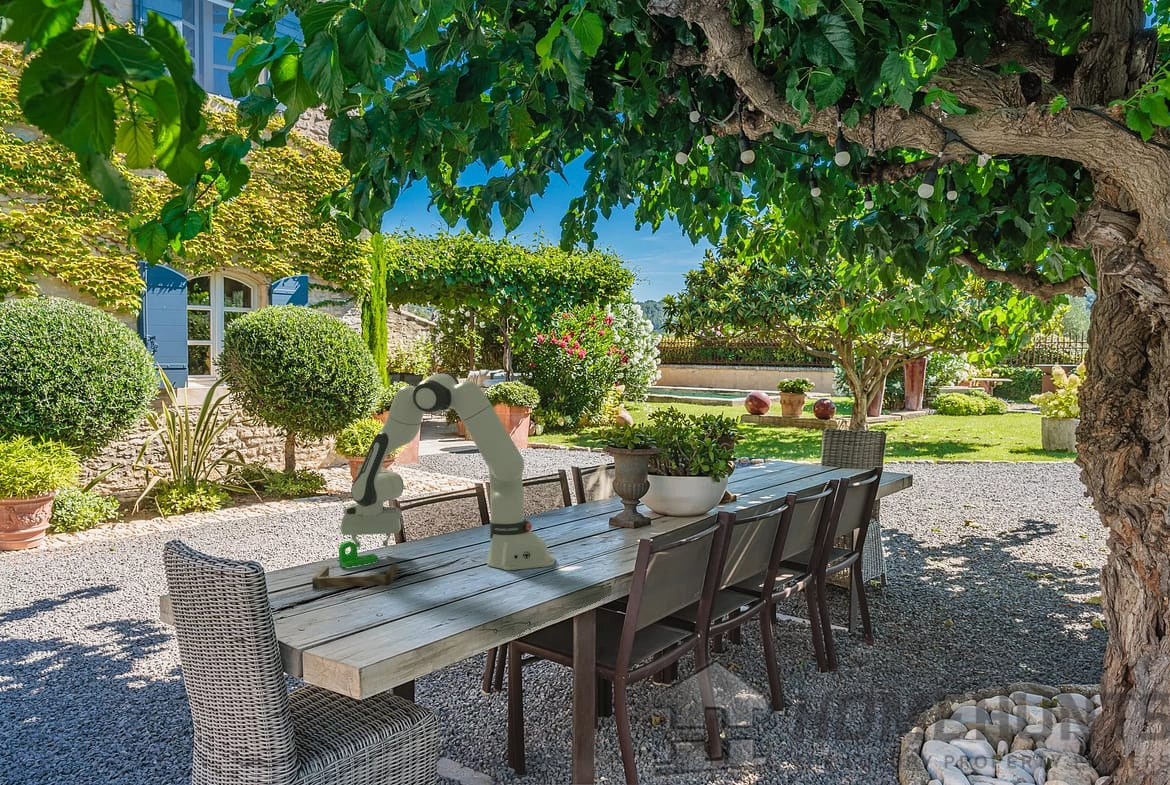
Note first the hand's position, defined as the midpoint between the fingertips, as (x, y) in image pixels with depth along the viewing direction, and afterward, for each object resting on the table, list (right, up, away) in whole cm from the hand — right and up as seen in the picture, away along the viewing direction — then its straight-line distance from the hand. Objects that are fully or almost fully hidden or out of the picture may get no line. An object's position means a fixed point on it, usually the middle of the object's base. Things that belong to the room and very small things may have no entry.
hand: (371, 546), depth 266 cm
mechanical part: (-1, -4, -11) cm, 12 cm away
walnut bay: (+4, -4, -29) cm, 30 cm away
